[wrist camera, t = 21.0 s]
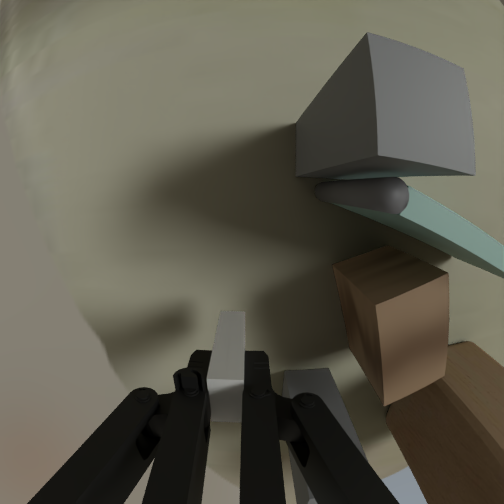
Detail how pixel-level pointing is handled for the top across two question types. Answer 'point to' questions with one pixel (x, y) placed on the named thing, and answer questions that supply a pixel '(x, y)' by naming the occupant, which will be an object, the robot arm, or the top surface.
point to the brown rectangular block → (395, 319)
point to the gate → (416, 218)
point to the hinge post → (388, 117)
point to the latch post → (328, 391)
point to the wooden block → (456, 430)
